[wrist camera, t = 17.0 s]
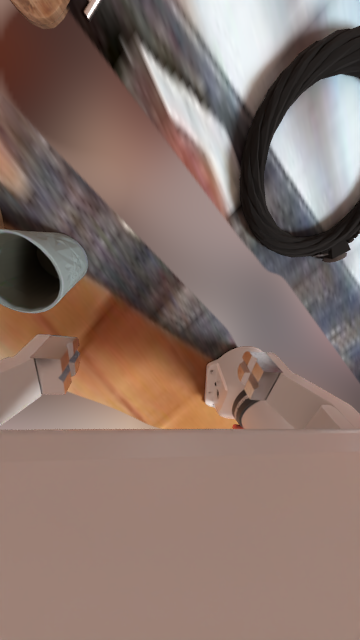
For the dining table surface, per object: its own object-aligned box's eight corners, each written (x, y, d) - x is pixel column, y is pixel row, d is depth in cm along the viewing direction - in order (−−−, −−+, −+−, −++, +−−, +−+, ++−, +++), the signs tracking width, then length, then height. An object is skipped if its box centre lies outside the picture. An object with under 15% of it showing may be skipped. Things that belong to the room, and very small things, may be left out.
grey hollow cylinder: (91, 290, 36) (64, 318, 26) (32, 280, 34) (-23, 307, 24) (92, 234, 32) (60, 241, 21) (24, 219, 30) (-47, 218, 19)
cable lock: (446, -56, 20) (418, 220, 34) (404, -16, 23) (394, 221, 37) (216, 107, 24) (274, 296, 38) (208, 121, 27) (265, 289, 41)
